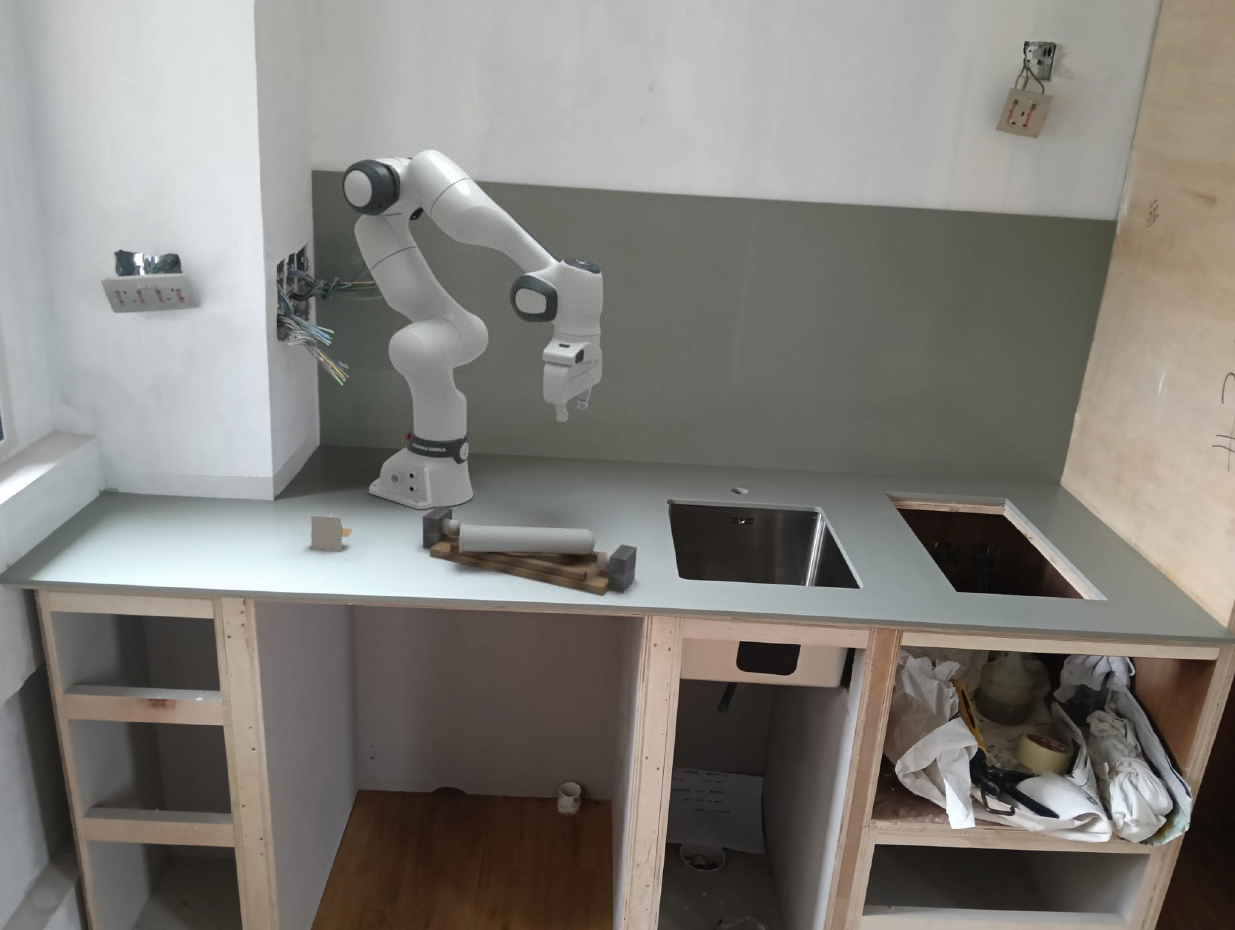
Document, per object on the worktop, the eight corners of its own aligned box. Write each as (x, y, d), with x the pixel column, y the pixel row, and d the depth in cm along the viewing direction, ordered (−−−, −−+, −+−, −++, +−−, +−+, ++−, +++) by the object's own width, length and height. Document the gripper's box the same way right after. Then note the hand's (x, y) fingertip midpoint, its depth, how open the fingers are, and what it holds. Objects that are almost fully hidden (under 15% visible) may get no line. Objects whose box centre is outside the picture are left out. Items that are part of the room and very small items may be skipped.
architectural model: (317, 544, 190) (315, 508, 187) (353, 546, 190) (352, 510, 187) (311, 551, 187) (309, 515, 184) (348, 554, 187) (347, 518, 184)
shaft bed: (416, 552, 188) (415, 521, 186) (445, 531, 198) (445, 501, 196) (618, 598, 176) (620, 565, 173) (638, 574, 185) (641, 542, 183)
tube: (595, 526, 187) (461, 522, 185) (597, 529, 182) (459, 524, 180) (593, 555, 187) (460, 550, 185) (596, 558, 182) (458, 554, 180)
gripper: (583, 333, 200) (579, 398, 205) (538, 353, 182) (535, 425, 187) (612, 338, 198) (607, 404, 203) (569, 359, 180) (565, 431, 185)
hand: (572, 414), depth 194 cm, fingers open, 8 cm apart
